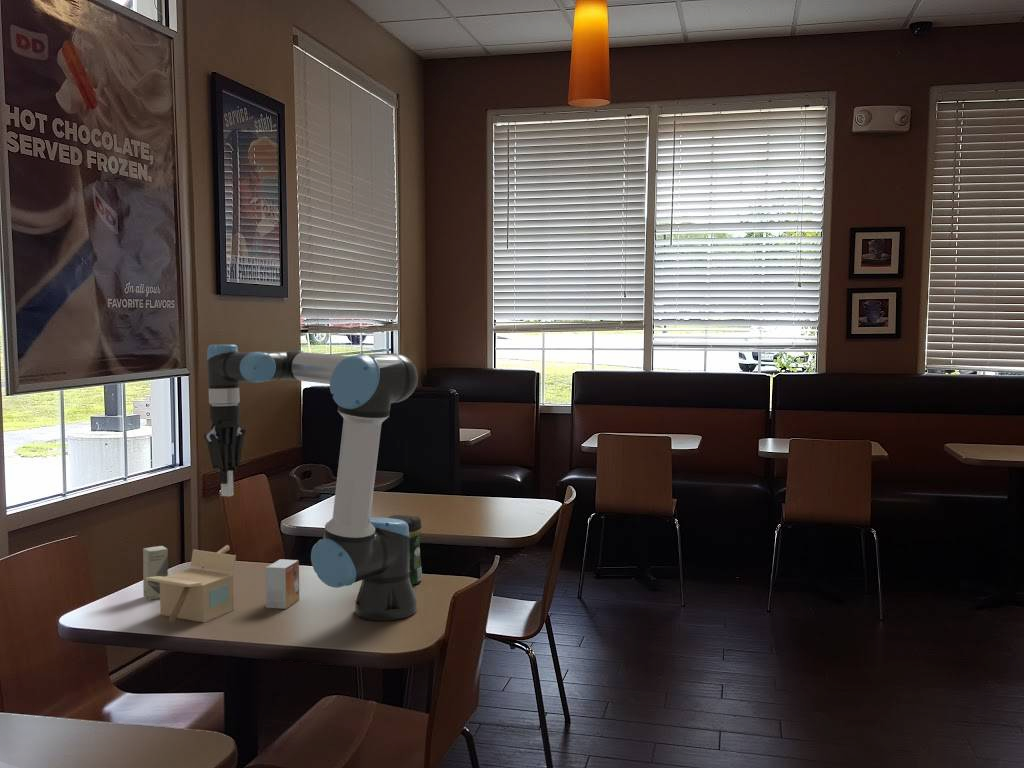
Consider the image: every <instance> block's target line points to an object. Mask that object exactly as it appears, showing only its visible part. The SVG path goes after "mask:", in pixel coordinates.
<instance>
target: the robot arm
mask: <svg viewBox="0 0 1024 768" xmlns="http://www.w3.org/2000/svg"><path fill="white" fill-rule="evenodd" d="M238 348H239V347H238V345H237V344H233V343H231V344H210V345H208V347H207V351H206V352H207V353H206V355H207V358H206V366H207V385H208V404H210V405H209V407H208V414H209V415H208V417H209V418H208V419H209V421H211V422H212V423H211V427H210V429H211V430H210V431H209V432H208V433H204V435H203V437H204V439H205V441H206V444H207V447H208V452H209V456H210V457H209V458H210V461H211V466H212V469H213V470H215V471H216V472H217V471H218V473H219V484H220V490H221V491H220V492H221V495H220V496H221V497H229V498H230V497H232V496H234V482H235V471H237V470H238V468H239V467H240V465H241V457H242V452H243V443H244V438H245V434H246V431H247V430H246V428H241V427H240V424H239V422H238V421H239V419H241V407H240V405H239V403H240V402H241V401H240V400H241V399H240V397H241V396H240V383H253V384H258V383H259V384H260V383H261V384H262V383H267V382H271V381H288V380H289V381H296V382H297V381H298V382H307V383H308V382H310V383H316V384H317V383H318V384H326V385H329V392H330V394H331V395H332V400H333V401H334V402H335V403H336V404H337V405H338V406H337V412H338V414H339V415H340V416H341V417H342V418H343V423H342V430H341V440H340V449H339V458H338V467H337V474H336V476H337V477H336V485H335V495H334V501H333V502H334V503H333V511H332V518H331V519H330V520H329V521H326V523H325V525H324V531H323V538H321V539H319V540H318V541H317V542H316V543H314V545H313V546H312V549H311V553H310V561H311V566H312V568H313V571H314V573H316V576H317V577H318V579H319V580H320V582H322V583H324V584H325V585H326V586H328V587H331V588H336V589H337V588H341V587H342V588H343V587H347V586H352V585H353V584H354V583H358V582H360V581H361V584H360V588H359V591H358V593H357V597H356V599H355V604H354V610H355V611H354V613H355V615H356V616H357V617H359V618H360V619H364V620H369V621H375V622H380V621H381V622H384V621H385V622H389V621H396V620H402V619H406V618H407V617H411V616H413V615H414V614H415V613H416V612H417V611H418V603H417V602H418V601H417V598H416V595H415V591H414V589H413V584H412V585H411V582H410V578H409V538H410V536H409V526H408V524H407V523H406V522H405V521H403V520H399V519H393V518H388V517H371V514H372V507H373V499H374V498H373V497H374V489H375V480H376V475H377V474H376V473H377V464H378V458H379V457H378V456H379V448H380V439H381V430H382V424H383V422H384V421H385V420H387V419H388V418H389V417H390V411H391V405H392V404H395V403H400V402H402V401H405V400H407V399H408V398H409V397H410V396H412V394H413V393H414V392H415V390H416V388H417V387H418V379H419V378H418V377H419V375H418V370H417V368H416V366H415V364H414V362H413V361H412V360H411V359H410V358H408V357H407V356H405V355H404V354H400V353H394V352H391V353H368V354H367V353H359V354H355V355H350V356H348V355H337V354H327V353H316V352H306V351H303V350H298V349H297V350H296V349H294V350H293V349H291V350H283V351H282V350H281V351H279V350H278V351H244V352H243V351H242V352H239V349H238ZM239 382H240V383H239ZM416 610H417V611H416ZM412 614H413V615H412ZM410 615H411V616H410Z"/></svg>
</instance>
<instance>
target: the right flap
mask: <svg viewBox="0 0 1024 768" xmlns="http://www.w3.org/2000/svg"><path fill="white" fill-rule="evenodd" d="M230 550H231V548H230V545H228V544H226V545H225V546H223V547H221V548H220V549H219V550H218V551H216V552H213V551H206V550H199V549H192V554H191V561H190V566H192V567H197V568H202V569H210V570H218V571H225V572H230V573H231V572H232V573H234V571H235V566H236V559H237V558H236V557H237V555H236V554H228V553H227V552H228V551H230Z"/></svg>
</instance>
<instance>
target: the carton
mask: <svg viewBox="0 0 1024 768" xmlns="http://www.w3.org/2000/svg"><path fill="white" fill-rule="evenodd" d="M165 577H168V578H175V579H181V580H187V581H193V582H200V583H201V585H200V586H193V587H191V589H190V591H189V593H188V595H187V597H186V599H185V601H184V603H183V605H182V607H181V609H180V611H179V613H178V615H177V617H176V619H183V620H189V621H194V622H198V623H207V622H209V621H211V620H214V619H216V618H218V617H221V616H224V615H225V614H228V613H230V612H233V611H234V610H235V609H234V608H235V607H234V606H235V605H234V604H235V603H234V600H235V599H234V574H230V573H224V572H219V571H212V570H205V569H198V568H193V567H192V568H191V567H190V568H186V569H184V570H180V571H177V572H174V573H172V574H168V576H165ZM184 587H185V586H179V585H173V584H167V583H161V582H160V598H159V601H160V602H159V603H160V604H159V608H160V610H159V611H160V615H161V616H167V617H170V616H171V614H172V612H173V610H174V607H175V605H176V603H177V601H178V599H179V597H180V595H181V593H182V591H183V589H184Z"/></svg>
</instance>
